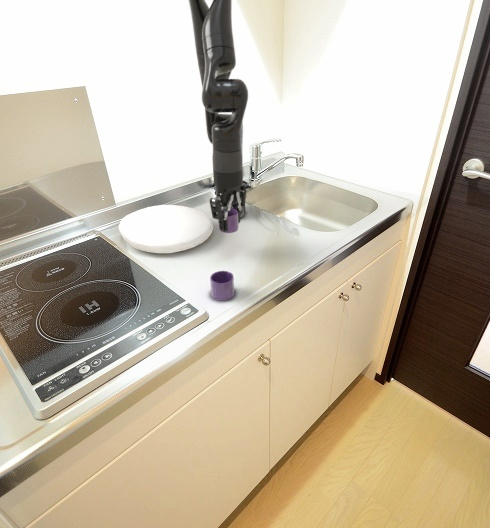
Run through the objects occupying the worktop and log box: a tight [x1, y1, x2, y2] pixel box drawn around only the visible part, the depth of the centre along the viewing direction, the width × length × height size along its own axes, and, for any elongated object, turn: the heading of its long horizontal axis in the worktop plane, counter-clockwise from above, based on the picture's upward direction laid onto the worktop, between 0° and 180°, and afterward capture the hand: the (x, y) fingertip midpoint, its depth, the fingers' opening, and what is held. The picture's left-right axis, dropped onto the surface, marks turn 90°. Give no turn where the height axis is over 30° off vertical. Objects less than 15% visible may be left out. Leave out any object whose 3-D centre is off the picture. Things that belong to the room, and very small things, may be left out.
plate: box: [118, 204, 214, 254], centre depth 113 cm, size 28×6×27 cm
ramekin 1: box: [217, 208, 240, 234], centre depth 101 cm, size 6×6×5 cm
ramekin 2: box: [209, 270, 235, 302], centre depth 89 cm, size 6×6×5 cm
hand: (230, 226), depth 101 cm, fingers closed on ramekin 1, 5 cm apart
